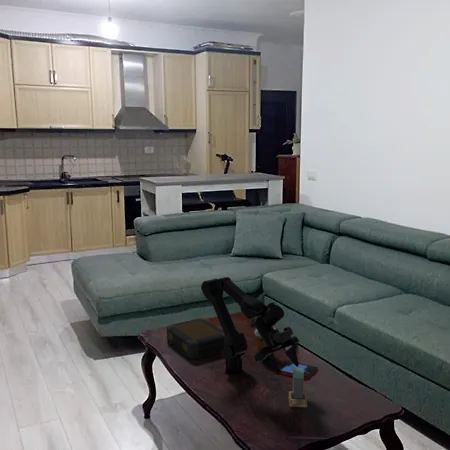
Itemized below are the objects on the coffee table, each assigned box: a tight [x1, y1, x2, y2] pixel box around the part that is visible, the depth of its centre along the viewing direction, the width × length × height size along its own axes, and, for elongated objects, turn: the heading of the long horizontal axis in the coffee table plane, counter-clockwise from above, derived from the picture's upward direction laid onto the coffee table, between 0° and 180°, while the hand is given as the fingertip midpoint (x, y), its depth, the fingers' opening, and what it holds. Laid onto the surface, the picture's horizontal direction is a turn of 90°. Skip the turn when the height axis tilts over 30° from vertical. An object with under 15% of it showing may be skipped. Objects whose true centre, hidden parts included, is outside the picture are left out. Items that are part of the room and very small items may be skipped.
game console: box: [274, 359, 319, 381], centre depth 199 cm, size 14×13×2 cm
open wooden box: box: [288, 390, 308, 408], centre depth 175 cm, size 6×6×3 cm
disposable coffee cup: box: [254, 326, 276, 354], centre depth 212 cm, size 10×10×12 cm
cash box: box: [166, 317, 225, 360], centre depth 225 cm, size 25×20×8 cm
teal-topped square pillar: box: [292, 368, 305, 399], centre depth 174 cm, size 3×3×12 cm
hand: (289, 370), depth 176 cm, fingers open, 9 cm apart
